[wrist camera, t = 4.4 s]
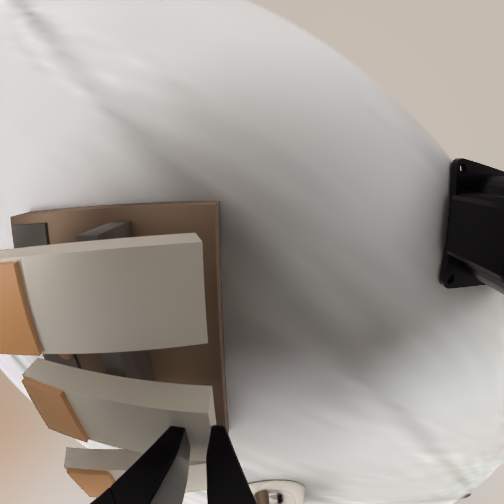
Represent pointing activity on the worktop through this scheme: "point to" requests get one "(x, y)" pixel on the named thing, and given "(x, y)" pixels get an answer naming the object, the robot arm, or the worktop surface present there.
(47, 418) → the middle rocker
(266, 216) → the worktop surface
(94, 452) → the far rocker
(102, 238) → the switch unit
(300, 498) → the beer glass
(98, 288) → the near rocker
